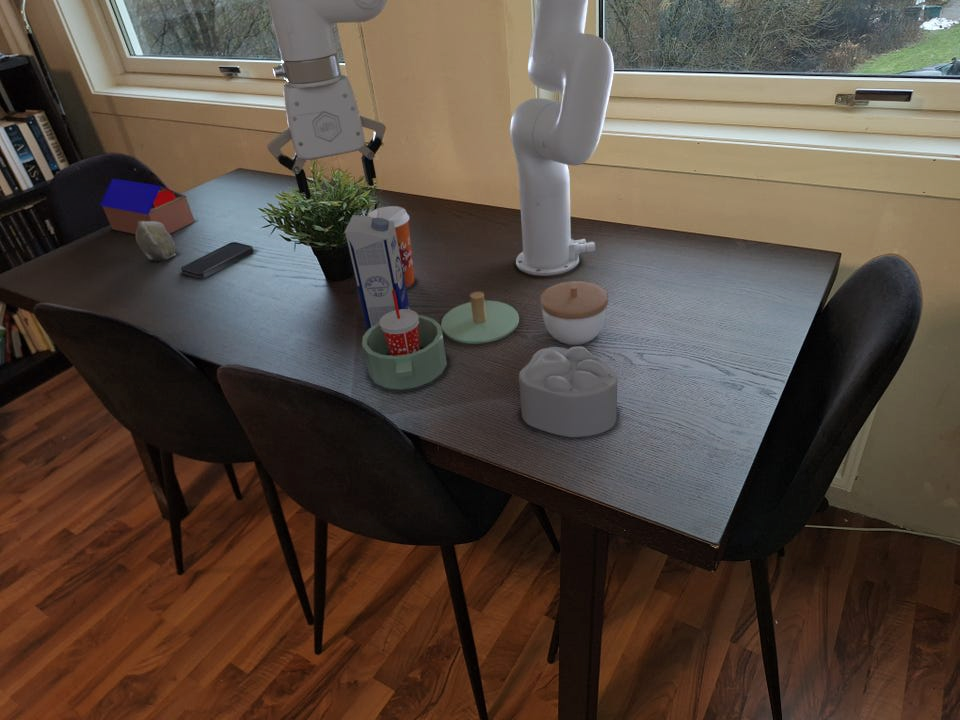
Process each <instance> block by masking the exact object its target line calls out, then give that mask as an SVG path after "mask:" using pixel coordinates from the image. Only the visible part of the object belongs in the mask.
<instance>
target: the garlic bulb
mask: <svg viewBox="0 0 960 720" xmlns="http://www.w3.org/2000/svg"><path fill="white" fill-rule="evenodd" d="M134 235H135V241H136V244H137V245H138V247H139V248H140V249H141V250H142V252H143V253H144V255H145V256H146V257H147V258H148V260H151V261H156V262H157V261H166V260H168V259H171V258H173V257H174V256H176V255H177V253H175V252H176V251H175V250H176V245H175V243H174V239H173V238H172V236H171V233H170V234H168V232H167V231H166V228H165V225H164V224H162V223H160V222H156V221H147V222H145V221H139V222H138V227H137V230H136V234H134Z"/></svg>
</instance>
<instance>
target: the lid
mask: <svg viewBox="0 0 960 720" xmlns="http://www.w3.org/2000/svg"><path fill="white" fill-rule="evenodd" d="M469 298H470V302H466V303H462V304H459V305H457V306H455V307H453V308H452V309H450V310H449V311H447V312H446V313H445V314H444V315H443V317H442V319H441V321H440V325H441V327H442V334H443V335H445V336H446V337H447V338H448V339H450V340H452V341H454V342H457V343H462V344H469V345H471V344H472V345H481V344H487V343H492V342H496V341H498V340H502V339H504V338H506V337H508V336H509V335H510V334H512V333H514V331H515V330H516V329H517V328H518V326H519V323H520V316H519V315H520V314H519V313H518V311H517V310H516V309H515V308H514V307H513V306H512V305H509V304H507V303H505V302H501V301H497V300H486V299H485V293H484V292H482V291H474V292H471V293H470V295H469Z"/></svg>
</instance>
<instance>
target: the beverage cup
mask: <svg viewBox="0 0 960 720" xmlns="http://www.w3.org/2000/svg"><path fill="white" fill-rule="evenodd" d="M392 294H393V299H394V304H395V309H396V310H394V311H392V312H389V313H387V314H385V315H384V316H382V318H381V319H380V326H381V329H382V330H383V332H384V336H385V339H386V343H387V346H388V350H389V353H388V354H389V355H391V356H398V355H405V354H411V353H414V352H416V351H419V350H421V347H420V341H419V332H418V324H419V318H418V315H419V314H418V312H416V311H415V310H411V309H410V310H407V309H401V310H399V309H398V304H397V298H396V293H395V290H392Z"/></svg>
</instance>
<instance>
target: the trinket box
mask: <svg viewBox="0 0 960 720" xmlns="http://www.w3.org/2000/svg"><path fill="white" fill-rule="evenodd" d="M608 304H609V295H608V292H607V290H605V289H604V288H603V287H602V286H600V285H598V284H596V283H593V282H588V281H583V280H582V281H581V280H572V281H571V280H569V281H563V282H559V283H556V284H554V285H551V286H549V287H548V288H546V289H545V290H544V291H543V292H542V293H541V295H540V306H541V313H542V319H543V323H544V327H545V328H546V330H547V332H548V333H549V334H550V336H552V338H554V339H555V340H556V341H558V342H559V343H562V344H564V345H569V346H581V345H585V344H587V343H589V342H592V340H595V338H596V337H598V336H599V334H600V333H601V332H602V330H603V328H604V327H605V324H606V320H607V315H608Z"/></svg>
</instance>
